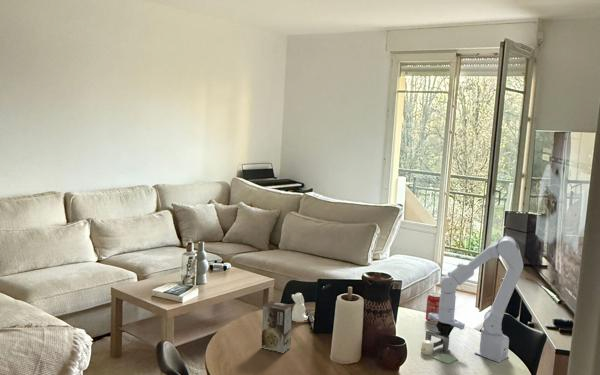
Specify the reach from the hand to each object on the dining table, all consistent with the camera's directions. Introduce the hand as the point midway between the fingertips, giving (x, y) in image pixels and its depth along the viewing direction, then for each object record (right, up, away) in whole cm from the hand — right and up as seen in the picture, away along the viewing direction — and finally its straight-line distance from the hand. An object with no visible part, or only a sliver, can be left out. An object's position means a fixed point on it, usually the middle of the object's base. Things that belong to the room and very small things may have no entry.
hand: (444, 342), depth 209 cm
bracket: (-4, -2, -3) cm, 5 cm away
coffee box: (-63, 0, -10) cm, 64 cm away
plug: (-6, -2, -5) cm, 8 cm away
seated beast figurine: (-55, +3, +18) cm, 58 cm away
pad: (-3, -3, -12) cm, 12 cm away
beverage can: (+2, +1, +26) cm, 26 cm away
